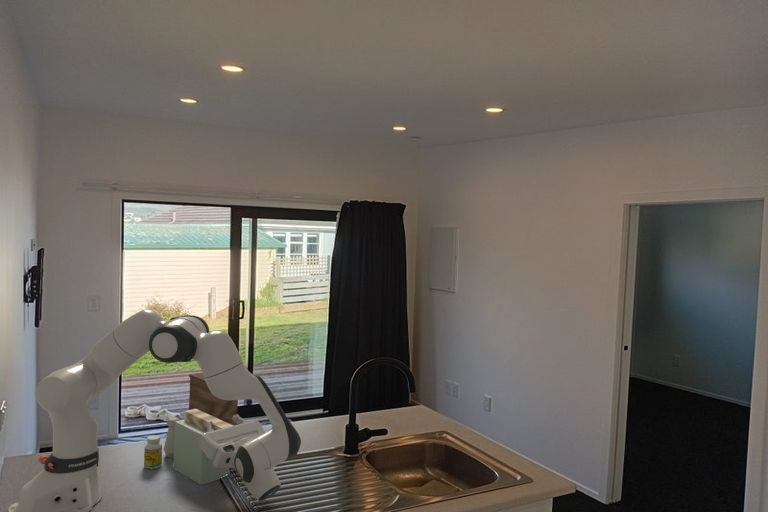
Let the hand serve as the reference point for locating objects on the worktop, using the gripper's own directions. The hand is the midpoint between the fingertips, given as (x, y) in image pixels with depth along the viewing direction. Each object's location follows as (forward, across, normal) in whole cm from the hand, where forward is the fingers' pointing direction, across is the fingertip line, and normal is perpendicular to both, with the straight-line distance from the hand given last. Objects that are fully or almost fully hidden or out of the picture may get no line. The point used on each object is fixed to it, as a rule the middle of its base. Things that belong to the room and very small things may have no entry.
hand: (221, 419), depth 172 cm
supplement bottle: (+12, +9, +30) cm, 34 cm away
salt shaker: (+15, 0, +32) cm, 36 cm away
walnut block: (+14, -14, +31) cm, 37 cm away
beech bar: (+4, 0, +7) cm, 8 cm away
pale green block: (-1, 0, +23) cm, 23 cm away
